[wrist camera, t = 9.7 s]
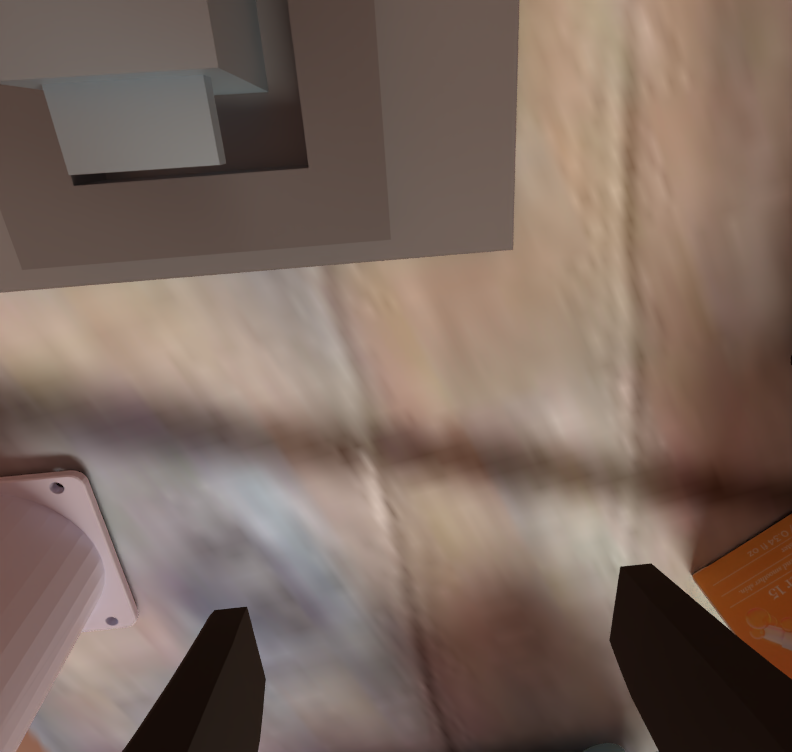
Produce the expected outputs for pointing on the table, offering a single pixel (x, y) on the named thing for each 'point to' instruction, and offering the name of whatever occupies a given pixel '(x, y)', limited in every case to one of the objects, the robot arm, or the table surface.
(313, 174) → the chassis
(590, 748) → the teakettle
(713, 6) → the table surface
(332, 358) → the table surface
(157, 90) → the block
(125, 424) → the table surface
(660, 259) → the table surface
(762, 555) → the small box
